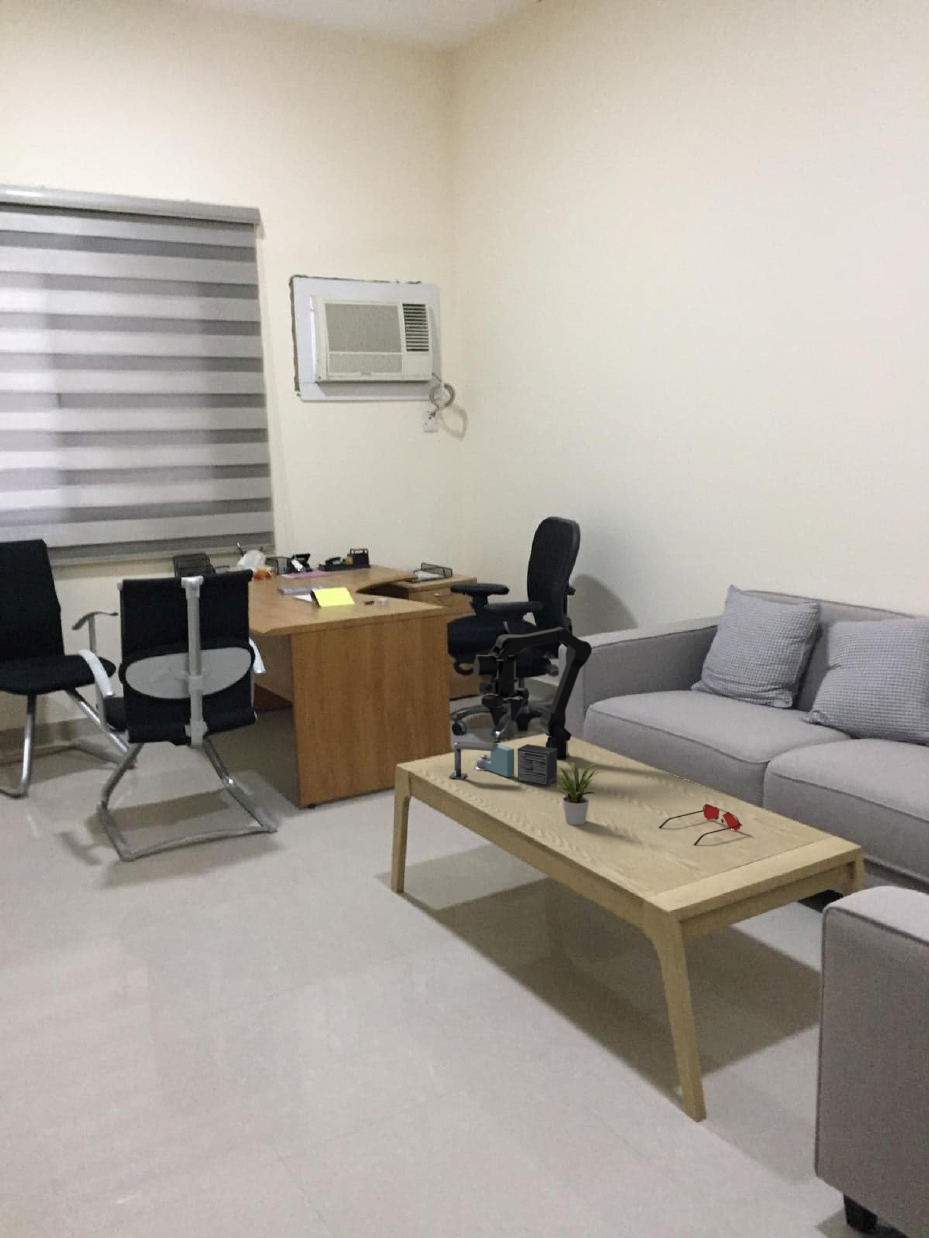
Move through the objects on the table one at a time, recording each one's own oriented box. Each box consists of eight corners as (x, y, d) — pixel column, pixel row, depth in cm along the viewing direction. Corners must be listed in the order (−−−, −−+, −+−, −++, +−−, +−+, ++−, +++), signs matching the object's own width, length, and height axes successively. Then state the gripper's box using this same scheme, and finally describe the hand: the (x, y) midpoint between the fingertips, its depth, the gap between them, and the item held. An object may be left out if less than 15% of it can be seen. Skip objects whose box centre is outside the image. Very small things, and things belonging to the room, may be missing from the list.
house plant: (610, 814, 273) (611, 756, 270) (603, 832, 260) (604, 772, 257) (558, 810, 277) (559, 753, 274) (549, 827, 264) (549, 767, 261)
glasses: (742, 834, 259) (743, 816, 258) (694, 847, 251) (694, 828, 250) (705, 818, 271) (705, 800, 270) (657, 829, 263) (657, 811, 262)
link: (473, 765, 317) (473, 740, 315) (485, 762, 319) (485, 737, 318) (504, 777, 304) (504, 751, 303) (516, 774, 307) (516, 748, 306)
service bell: (497, 764, 318) (497, 753, 318) (492, 771, 312) (492, 759, 311) (476, 763, 320) (476, 751, 320) (470, 769, 314) (470, 757, 313)
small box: (558, 781, 302) (558, 747, 300) (548, 787, 296) (548, 753, 295) (527, 776, 307) (527, 742, 306) (516, 781, 302) (516, 748, 300)
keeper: (498, 777, 306) (498, 743, 304) (494, 782, 301) (494, 748, 300) (453, 773, 310) (453, 740, 308) (448, 778, 305) (448, 744, 304)
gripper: (502, 667, 329) (501, 714, 331) (467, 676, 314) (466, 724, 317) (530, 672, 322) (529, 719, 325) (496, 681, 308) (495, 730, 310)
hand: (504, 723), depth 319 cm, fingers open, 9 cm apart
